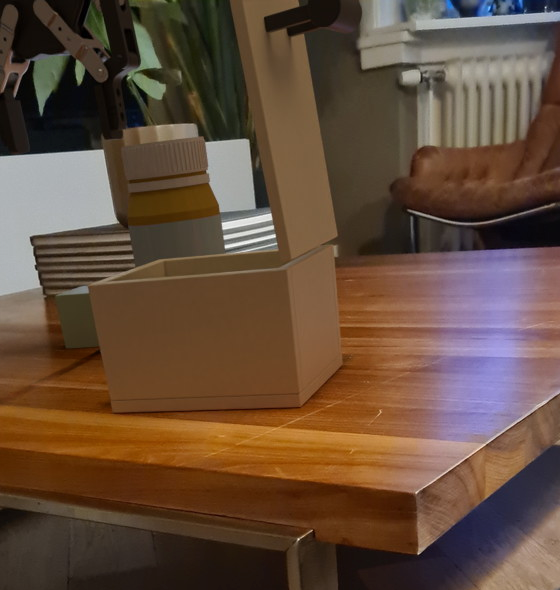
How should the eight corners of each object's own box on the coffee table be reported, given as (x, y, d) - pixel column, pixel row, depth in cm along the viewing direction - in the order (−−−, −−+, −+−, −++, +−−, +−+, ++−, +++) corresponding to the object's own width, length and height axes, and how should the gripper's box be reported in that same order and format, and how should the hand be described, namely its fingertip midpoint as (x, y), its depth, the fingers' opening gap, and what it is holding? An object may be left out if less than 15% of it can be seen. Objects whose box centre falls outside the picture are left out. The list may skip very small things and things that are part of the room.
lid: (224, -23, 45) (318, -54, 43) (286, -3, 54) (367, -28, 52) (280, 262, 51) (365, 245, 49) (328, 238, 60) (401, 223, 58)
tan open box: (112, 413, 58) (86, 285, 55) (176, 372, 67) (158, 259, 64) (300, 407, 54) (287, 268, 51) (343, 364, 63) (333, 244, 60)
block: (66, 353, 79) (54, 295, 77) (92, 341, 83) (81, 286, 81) (116, 351, 77) (105, 291, 75) (140, 338, 81) (130, 282, 79)
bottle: (253, 345, 73) (227, 133, 66) (176, 364, 69) (140, 143, 63) (210, 337, 78) (181, 140, 71) (136, 355, 75) (99, 149, 68)
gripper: (127, -119, 66) (166, 133, 74) (-39, -79, 71) (14, 155, 78) (77, -141, 60) (125, 137, 67) (-101, -96, 64) (-37, 160, 72)
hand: (65, 146), depth 73 cm, fingers open, 8 cm apart
